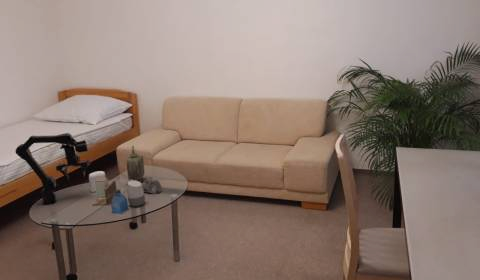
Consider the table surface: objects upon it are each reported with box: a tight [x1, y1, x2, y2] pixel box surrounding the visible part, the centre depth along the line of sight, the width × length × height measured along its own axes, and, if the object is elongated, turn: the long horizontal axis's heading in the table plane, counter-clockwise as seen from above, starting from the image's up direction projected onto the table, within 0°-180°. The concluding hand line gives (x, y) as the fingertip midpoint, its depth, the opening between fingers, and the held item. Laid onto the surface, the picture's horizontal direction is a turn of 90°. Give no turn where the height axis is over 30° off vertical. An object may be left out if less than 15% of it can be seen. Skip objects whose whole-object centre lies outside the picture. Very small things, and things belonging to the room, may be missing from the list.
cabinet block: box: [95, 177, 109, 201], centre depth 254 cm, size 6×6×12 cm
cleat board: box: [91, 180, 117, 206], centre depth 254 cm, size 10×14×10 cm
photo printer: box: [88, 170, 107, 193], centre depth 273 cm, size 10×4×12 cm, turn 124°
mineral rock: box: [141, 176, 163, 195], centre depth 265 cm, size 13×11×10 cm
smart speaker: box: [127, 179, 146, 208], centre depth 245 cm, size 10×9×14 cm
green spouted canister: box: [125, 145, 145, 181], centre depth 282 cm, size 14×9×25 cm, turn 6°
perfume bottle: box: [110, 188, 129, 214], centre depth 238 cm, size 6×6×12 cm
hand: (76, 178), depth 259 cm, fingers open, 9 cm apart
